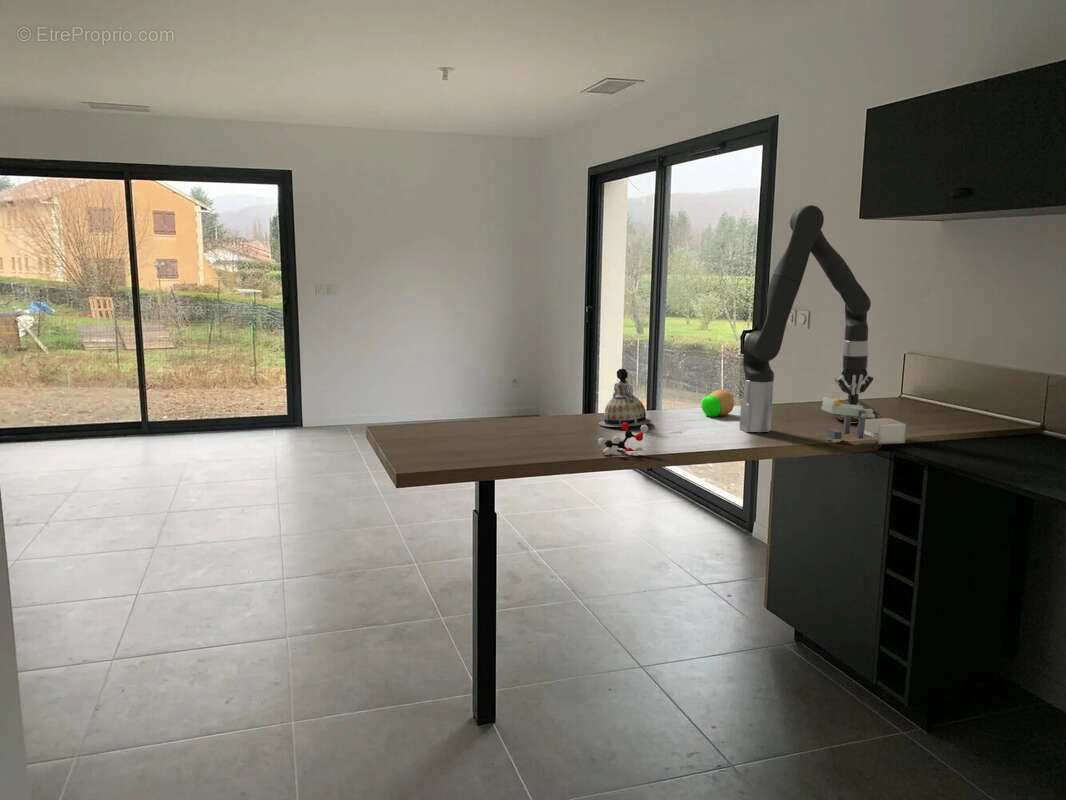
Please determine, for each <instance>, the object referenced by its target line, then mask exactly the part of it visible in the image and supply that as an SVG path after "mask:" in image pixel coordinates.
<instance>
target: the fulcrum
mask: <svg viewBox="0 0 1066 800" xmlns="http://www.w3.org/2000/svg"><path fill="white" fill-rule="evenodd" d="M866 417H867V415H866V411H864V410H860V411H859V419H858V424H857V431H856V432H857V433H856V435H857V438H859V439H861V438H862V439H863V438H864V429H865V418H866ZM850 422H851V415H844V421H843V427H842V431H841V430H839V429H837V428H834V427H829V428H826V434H825V437H826V436H827V437H830V438H832V439H841V438H842V433H843V434H849V433H851V423H850ZM859 444H860V443H859ZM859 444H857V445H856V444H855V445H854V447H855V446H859V447H860V446H875V444H876V443H875V442H867V443H861V444H860V445H859Z"/></svg>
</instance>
